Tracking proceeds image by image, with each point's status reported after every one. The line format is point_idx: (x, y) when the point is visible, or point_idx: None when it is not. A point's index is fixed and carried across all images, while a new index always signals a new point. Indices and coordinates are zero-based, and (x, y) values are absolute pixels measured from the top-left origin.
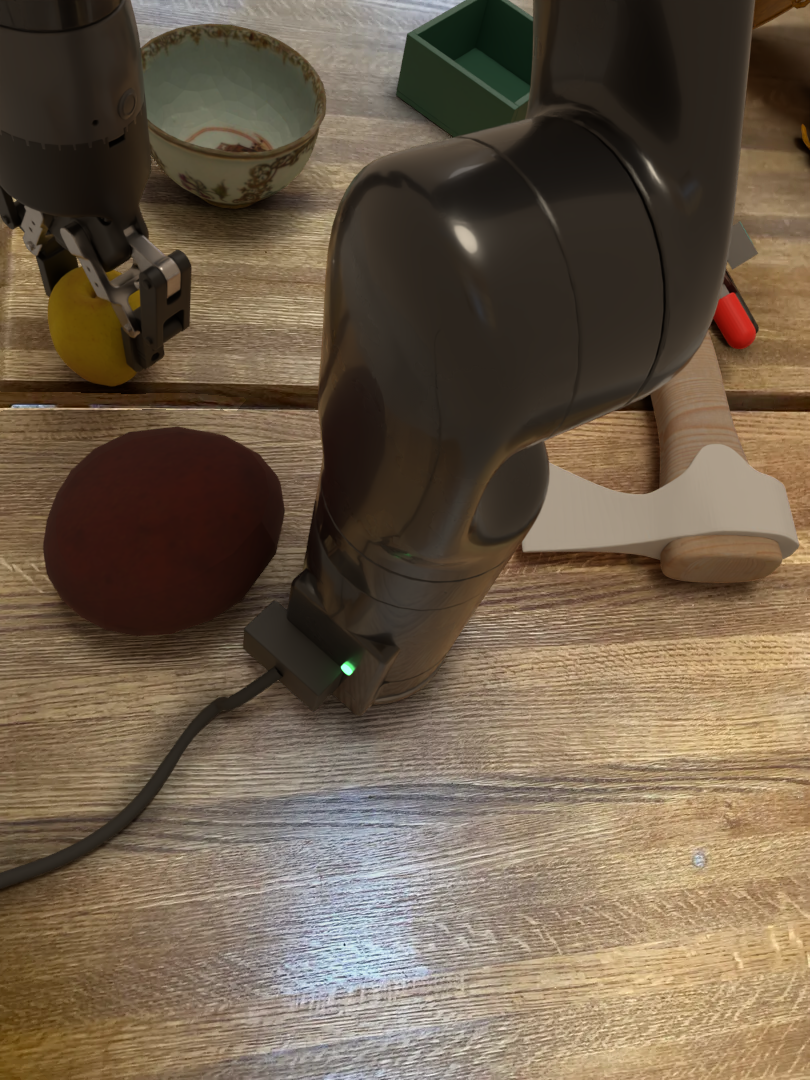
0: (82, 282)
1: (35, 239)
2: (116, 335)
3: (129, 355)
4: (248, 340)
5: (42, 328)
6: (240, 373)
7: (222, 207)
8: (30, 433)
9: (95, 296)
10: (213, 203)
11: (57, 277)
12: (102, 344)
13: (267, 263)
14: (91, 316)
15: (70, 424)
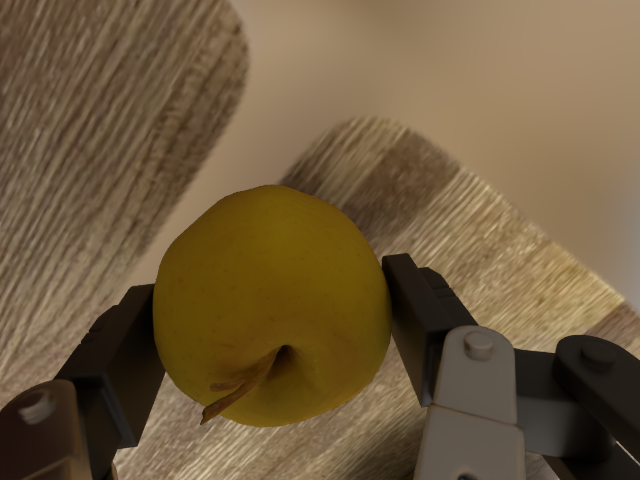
0: (321, 359)
1: (432, 443)
2: (157, 329)
3: (124, 311)
4: None
5: (408, 196)
6: None
7: (412, 472)
8: (225, 40)
9: (289, 348)
10: None
11: (401, 307)
12: (164, 287)
13: (307, 470)
14: (206, 326)
15: (205, 116)
